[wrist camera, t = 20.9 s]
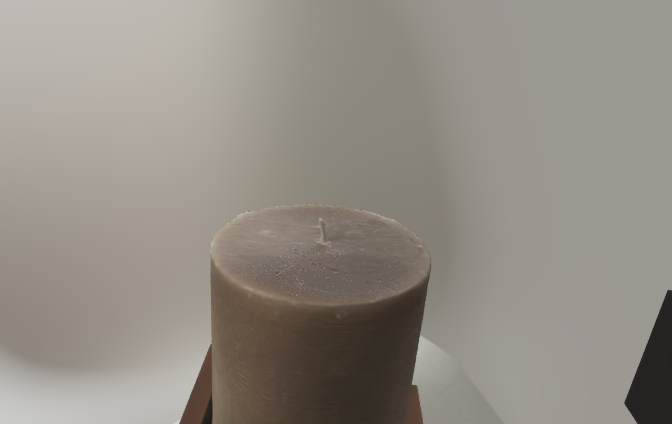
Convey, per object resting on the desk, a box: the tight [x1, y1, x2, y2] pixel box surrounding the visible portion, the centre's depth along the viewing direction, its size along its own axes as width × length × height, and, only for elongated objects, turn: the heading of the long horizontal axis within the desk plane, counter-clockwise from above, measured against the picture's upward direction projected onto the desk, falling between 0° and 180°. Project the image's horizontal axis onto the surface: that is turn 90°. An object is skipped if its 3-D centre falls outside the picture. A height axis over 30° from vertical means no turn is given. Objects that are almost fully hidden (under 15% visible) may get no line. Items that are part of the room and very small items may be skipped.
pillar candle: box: [210, 204, 431, 424], centre depth 25 cm, size 10×10×15 cm
